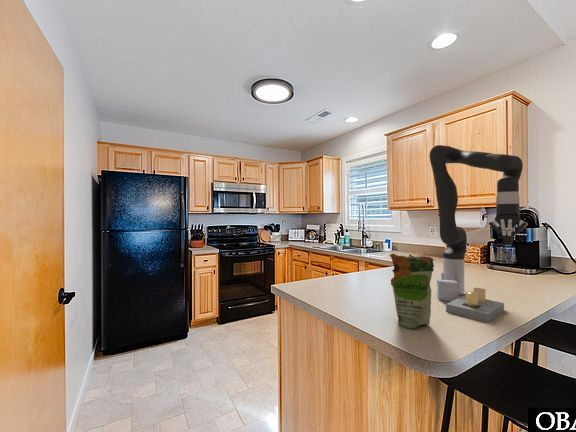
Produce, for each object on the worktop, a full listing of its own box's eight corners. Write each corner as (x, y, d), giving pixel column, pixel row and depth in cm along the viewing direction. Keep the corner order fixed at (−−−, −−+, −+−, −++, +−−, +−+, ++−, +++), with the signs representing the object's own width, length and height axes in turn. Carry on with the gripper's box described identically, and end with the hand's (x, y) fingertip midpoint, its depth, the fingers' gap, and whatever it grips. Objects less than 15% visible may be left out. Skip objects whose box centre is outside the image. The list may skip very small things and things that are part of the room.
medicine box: (456, 299, 123) (456, 280, 123) (458, 302, 119) (458, 282, 119) (436, 297, 126) (436, 279, 126) (438, 300, 122) (438, 281, 122)
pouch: (437, 329, 90) (437, 255, 90) (406, 332, 87) (406, 256, 87) (415, 317, 101) (415, 251, 101) (387, 320, 98) (387, 252, 98)
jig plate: (446, 311, 107) (446, 291, 107) (464, 301, 120) (464, 283, 120) (488, 322, 96) (488, 300, 96) (504, 310, 108) (504, 290, 109)
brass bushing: (464, 312, 106) (464, 292, 106) (467, 310, 108) (467, 290, 108) (475, 315, 103) (475, 294, 103) (479, 313, 105) (479, 293, 105)
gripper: (531, 202, 108) (531, 245, 108) (491, 204, 118) (491, 243, 118) (526, 202, 103) (526, 246, 103) (485, 203, 114) (485, 244, 114)
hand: (507, 244), depth 111 cm, fingers closed
